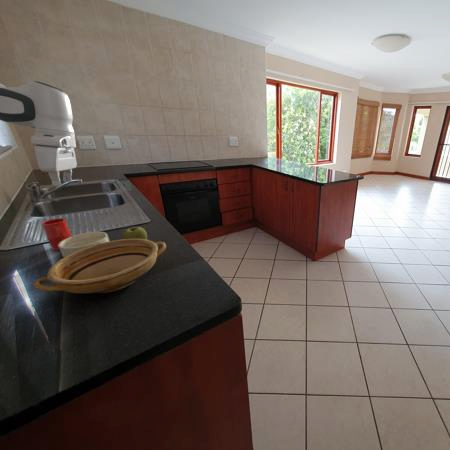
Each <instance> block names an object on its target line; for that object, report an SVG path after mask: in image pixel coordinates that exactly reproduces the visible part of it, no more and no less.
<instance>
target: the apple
mask: <svg viewBox="0 0 450 450" xmlns="http://www.w3.org/2000/svg"><path fill="white" fill-rule="evenodd" d="M121 239H145V240H148V233H147V231H146V230H145V228H143V227H141V226H131V227H128V228H127V229H125V230H123V232H122V234H121Z"/></svg>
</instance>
